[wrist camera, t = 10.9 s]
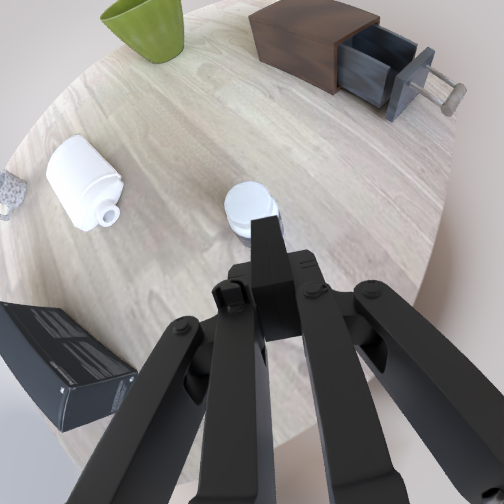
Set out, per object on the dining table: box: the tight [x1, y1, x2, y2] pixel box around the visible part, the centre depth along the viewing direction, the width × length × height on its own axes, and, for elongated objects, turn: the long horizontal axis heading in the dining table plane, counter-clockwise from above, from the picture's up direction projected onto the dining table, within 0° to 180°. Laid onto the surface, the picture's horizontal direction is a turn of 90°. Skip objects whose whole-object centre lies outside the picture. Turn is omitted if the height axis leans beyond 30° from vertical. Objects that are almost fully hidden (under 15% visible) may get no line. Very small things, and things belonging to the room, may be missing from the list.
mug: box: [0, 169, 27, 221], centre depth 41 cm, size 10×7×7 cm
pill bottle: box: [224, 181, 284, 250], centre depth 27 cm, size 5×5×8 cm
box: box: [0, 301, 138, 433], centre depth 26 cm, size 17×7×12 cm, turn 65°
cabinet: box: [248, 0, 380, 95], centre depth 32 cm, size 15×13×10 cm
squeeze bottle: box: [46, 134, 124, 232], centre depth 36 cm, size 10×20×5 cm, turn 48°
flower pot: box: [100, 0, 184, 64], centre depth 37 cm, size 15×15×16 cm
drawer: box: [337, 24, 467, 122], centre depth 28 cm, size 20×11×8 cm, turn 45°
